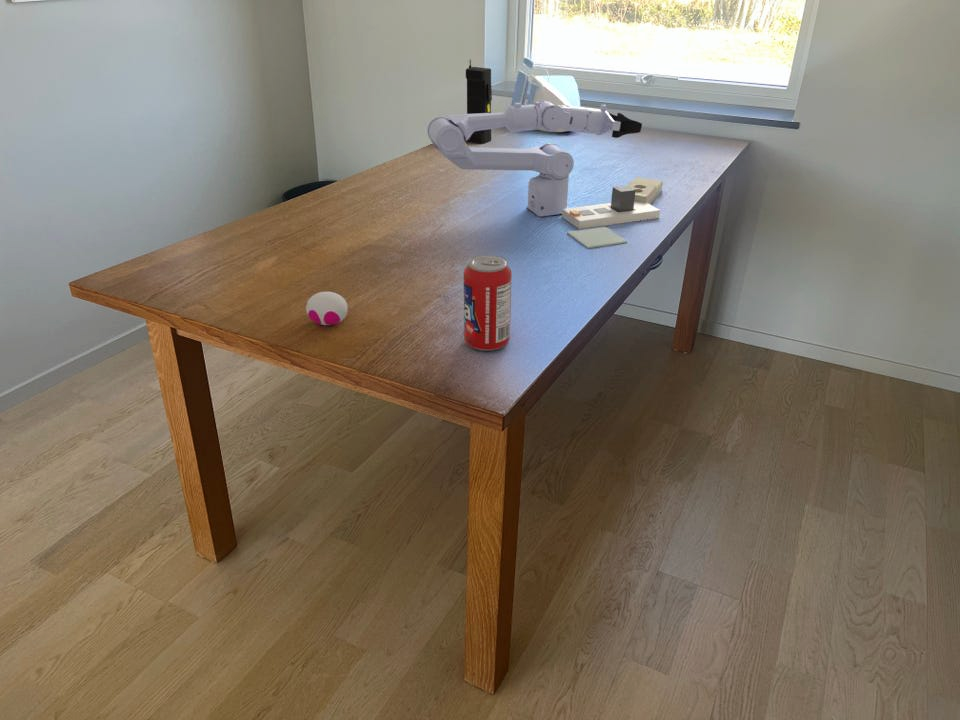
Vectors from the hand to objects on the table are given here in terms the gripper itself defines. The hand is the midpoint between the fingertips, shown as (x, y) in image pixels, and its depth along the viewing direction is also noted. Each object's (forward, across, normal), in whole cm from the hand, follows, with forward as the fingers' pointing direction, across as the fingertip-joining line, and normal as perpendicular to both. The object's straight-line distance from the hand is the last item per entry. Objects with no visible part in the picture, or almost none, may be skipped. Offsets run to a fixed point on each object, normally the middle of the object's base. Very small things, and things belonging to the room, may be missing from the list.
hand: (633, 125), depth 183 cm
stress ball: (-77, -44, +37) cm, 96 cm away
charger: (-2, -7, +21) cm, 22 cm away
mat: (-14, -19, +24) cm, 33 cm away
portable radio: (-15, +72, +16) cm, 75 cm away
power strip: (-5, -7, +21) cm, 23 cm away
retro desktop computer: (+14, +84, +10) cm, 85 cm away
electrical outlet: (+9, +4, +19) cm, 21 cm away
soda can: (-52, -58, +34) cm, 85 cm away
